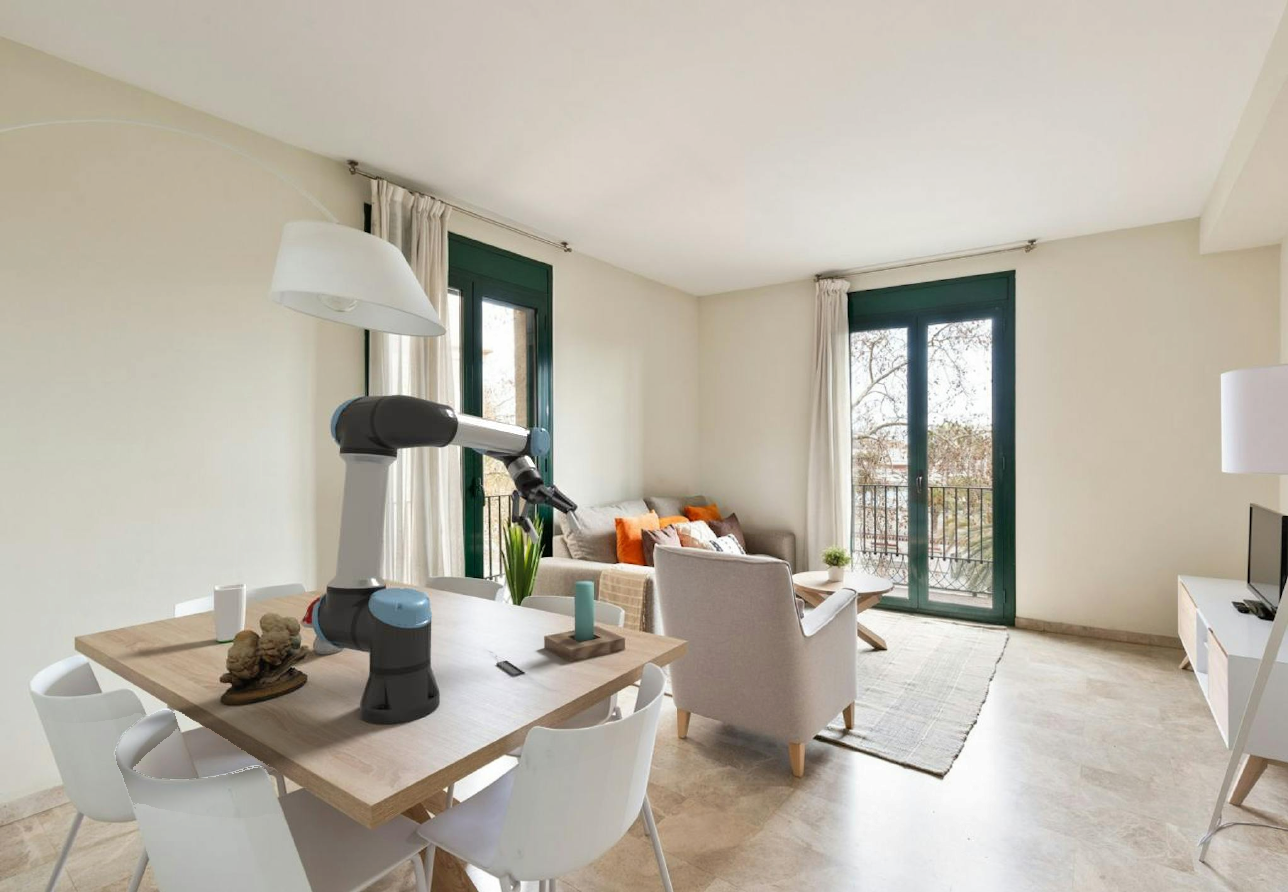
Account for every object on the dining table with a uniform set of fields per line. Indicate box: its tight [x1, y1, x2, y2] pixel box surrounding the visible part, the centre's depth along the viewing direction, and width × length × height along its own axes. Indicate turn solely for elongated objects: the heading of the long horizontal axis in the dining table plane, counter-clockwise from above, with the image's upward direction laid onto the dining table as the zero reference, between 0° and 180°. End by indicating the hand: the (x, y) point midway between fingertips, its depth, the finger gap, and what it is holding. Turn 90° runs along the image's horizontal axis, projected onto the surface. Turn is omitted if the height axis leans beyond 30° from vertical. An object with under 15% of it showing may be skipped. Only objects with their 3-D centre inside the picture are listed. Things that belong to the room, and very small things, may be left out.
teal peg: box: [574, 580, 595, 642], centre depth 159 cm, size 5×5×17 cm
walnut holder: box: [543, 625, 626, 663], centre depth 159 cm, size 16×14×4 cm
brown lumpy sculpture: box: [219, 612, 310, 707], centre depth 135 cm, size 18×12×17 cm, turn 150°
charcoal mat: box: [496, 660, 527, 677], centre depth 149 cm, size 10×10×1 cm
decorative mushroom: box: [299, 595, 345, 655], centre depth 162 cm, size 14×14×15 cm
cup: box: [213, 583, 247, 643], centre depth 172 cm, size 7×7×15 cm
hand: (558, 536), depth 164 cm, fingers open, 13 cm apart
